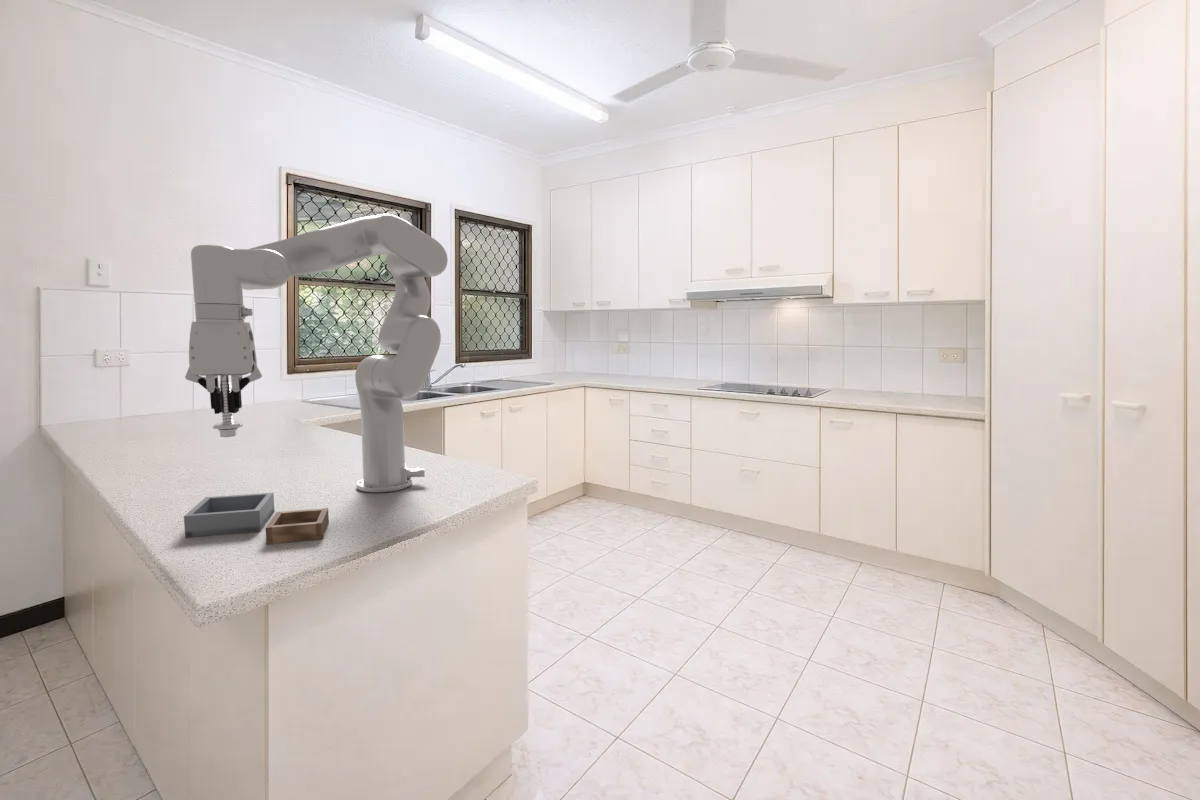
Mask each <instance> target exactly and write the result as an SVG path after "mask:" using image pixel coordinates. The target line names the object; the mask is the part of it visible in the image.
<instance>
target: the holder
mask: <svg viewBox="0 0 1200 800" xmlns="http://www.w3.org/2000/svg"><path fill="white" fill-rule="evenodd" d="M272 516H273V517H271V518H270V521H269V522H268V524H267V525H266V526H265V542H266V545H273V544H282V543H283V544H286V543H292V542H293V543H294V542H303V541H305V542H306V541H315V540H316V541H317V540H323V539H324V536H325V534H326V531H327V528H328V526H329V523H330V521H329V520H330V519H329V516H330V515H329V507H326V508H312V509H299V510H287V511H276V513H275V512H274V515H272Z"/></svg>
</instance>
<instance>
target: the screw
mask: <svg viewBox="0 0 1200 800" xmlns="http://www.w3.org/2000/svg"><path fill="white" fill-rule="evenodd" d="M229 376H230V375H220V376H219V378H220V381H219V388H220V392H221V394H220V395H221V397H220V398H221V404H222V412H221V414H222V416H221V417H222V419H221V420H222V422H218V423H215V424H214V425H212V429H214V430H217V431H219V437H220V438H231V437H233V438H234V437H236V436H237V435H238V433H237V431H238V430H239V428H242V427H244V425H243V424H244V423H242V422H240V421H234V419H233V418H234V416H233V415H234V413H231V412H230V399H229V393H230V392H231V389H232V385H231V382H230V379H229V378H230V377H229Z"/></svg>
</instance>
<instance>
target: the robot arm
mask: <svg viewBox="0 0 1200 800" xmlns="http://www.w3.org/2000/svg"><path fill="white" fill-rule="evenodd" d="M380 255H386V264H387V267H388V270H389V272H390V274H391V276H392V279H393V281H394V285H395V286H394V287H395V293H394V296H393V299H392V302H391V304H390V307H389V309H388V311H387V312H386V313H387V314H386V316H385V318H384V320H383V322H382V324H381V327H380V329H379V333H378V342H379V345H380V347H381V349H383V350H385V351H386V352H388V353H391V354H394V355H385V354H374V355H369V356H367V357H365V358H364V359H362V360H361V361H360V362H359V363H358V365H357V366H356V370H355V375H354V376H355V378H354V379H355V385H356V386H355V387H356V389H357V390H356V391H357V393H358V399H359V406H360V421H361V425H360V426H361V450H362V451H361V452H362V474H363V477H362V479H360V480H359V479H358V480H357V481H356V489H357V490H358V491H361V492H365V493H390V492H395V491H400V490H404V489H407V488H409V487H411V486H412V484H413V478H424V477H426V476H425V475H426V474H425V468H419V467H417V468H410V467H407V463H406V460H405V459H406V457H405V455H406V454H405V425H404V424H405V418H404V417H405V416H404V414H405V413H404V408H403V407H404V406H403V403H402V401H401V399H409V398H412V397H413V398H414V397H415V396H416V395H417V394H419V393H420V391H421V390H422V389H423V387H424V386H425V383H426V382H427V379H428V378H429V377H428V376H429V374H430V372H431V369H432V367H433V364H434V362H435V360H436V357H437V355H438V352H439V350H440V346H441V339H442V337H441V336H442V335H441V331H440V327H439V325H438V323H437V322H436V321H435V320H434V319H433V318H432V317H430V316H428V312H429V310H430V306H431V292H430V289H429V287H428V284H427V282H426V279H425V278H433V277H437V276H439V275H441V274H442V273H444V271H445V270H446V268H447V265H448V259H449V258H448V254H447V251H446V249H445V248H444V246H443V244H441V243H440V242H439V241H438V240H437V239H435V238H434V237H432V236H430V235H429V234H427V233H425V232H424V231H423V230H421V229H419V228H418V227H416V226H415V225H413V224H411V223H410V222H409V221H407V220H405V219H403V218H401V217H399V216H397V215H395V214H391V213H390V214H389V213H383V214H377V215H370V216H364V217H359V218H356V219H351V220H347V221H344V222H341V223H337V224H334V225H330V226H325V227H322V228H318V229H315V230H311V231H308V232H304V233H301V234H298V235H294V236H292V237H289V238H285V239H281V240H277V241H274V242H270V243H266V244H262V245H259V246H255V247H251V248H248V249H246V248H233V247H230V246H224V245H218V244H199V245H195V246H193V248H192V249H191V251H190V260H191V273H192V274H191V275H192V285H193V286H192V288H193V299H194V311H195V314H194V315H195V321H192V322H191V325H190V332H189V341H188V363H189V367H188V368H187V372H186V374H185V375H184V378H185V380H187V381H190V382H193V383H197V384H199V385H201V387H202V388H204V389H205V390H206V392H208V393H209V395H210V396H209V397H210V399H209V400H210V408H211V410H213V411H214V414H215V415H216V414H218V415H219V414H222V404H221V398H220V397H221V395H220V394H221V392H220V391H221V389H220V382H219V377H220V375H228V376H230V379H231V388H230V389H231V390H230V393H229V399H230V412H231V413H232V414H236V413H238V412H240V409H242V407H243V404H242V390H243V389H244V388H246V387H247V385H249V384H250V383H252V382H254V381H256V380H259V379H262V377H263V374H262V373H261V371H260V369H259V367H258V360H257V353H256V352H257V351H256V345H255V339H254V334H253V331H252V326H251V323H250V322H245V320H246V318H247V317H252V316H253V314H254V312H253V309H252V308H248V307H246V306H245V305H244V297H243V295H244V294H243V290H245V291H247V290H248V291H251V290H252V291H253V290H273V289H277V288H279V287H282V286H283V285H285V284H286V283H287V282H288V281H289V279H290V277H291V278H292V277H295V276H296V277H297V276H299V275H300V276H301V275H307V274H317V273H324V272H328V271H333V270H336V269H339V268H342V267H345V266H348V265H351V264H355V263H357V262H360V261H362V260H365V259H369V258H371V257H376V256H380ZM248 374H250V375H248ZM245 375H246V376H245ZM247 375H248V376H247ZM243 376H244V377H243Z"/></svg>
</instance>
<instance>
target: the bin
mask: <svg viewBox="0 0 1200 800" xmlns="http://www.w3.org/2000/svg"><path fill="white" fill-rule="evenodd" d="M274 497H275V495H274V492H263V493H262V492H261V493H250V494H249V493H248V494H235V495H234V494H233V495H221V496H220V495H219V496H218V495H217V496H206V497H204V498H203V499H202V500H200V502H198V503H197V504H196V505H195V506H194V507H193V508H192V509H191V510H189V511H188V512H187V513H186V514H184V515H183V523H184V524H183V525H184V534H185V536H184V537H185V538H186V539H187V538H194V537H207V536H208V537H209V536H221V535H232V534H242V533H254V532H255V533H256V532H261V531H263V529H264V527H266V526H265V525H266V524H267V523H268V521H269V519H271V518H272V516H273V514H275V498H274Z"/></svg>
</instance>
